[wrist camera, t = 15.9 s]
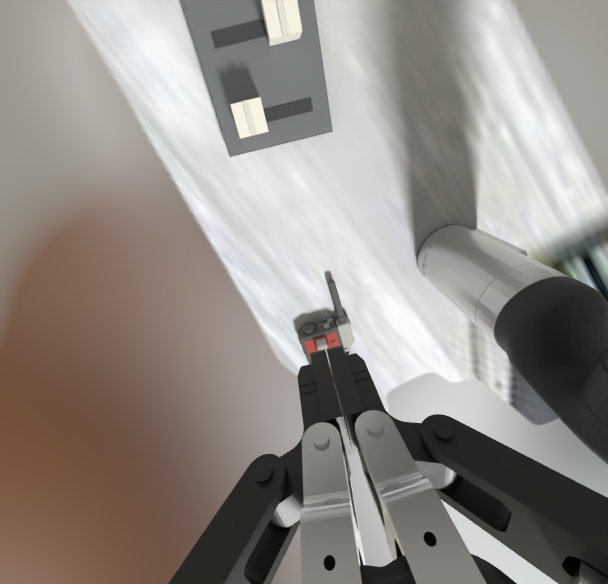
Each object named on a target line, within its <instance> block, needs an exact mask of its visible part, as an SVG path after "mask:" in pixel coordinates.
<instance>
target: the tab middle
mask: <svg viewBox="0 0 608 584" xmlns="http://www.w3.org/2000/svg"><path fill="white" fill-rule="evenodd" d="M261 8H262V12H263V17H264V22H265V27H266V31H267V36H268V41H269V45H270V46H273V45H277V44H281V43H285V42H289V41H293V40H297V39H300V36H301V33H302V26H301V20H300V14H299V8H298V2H297V0H261Z"/></svg>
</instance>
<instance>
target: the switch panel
mask: <svg viewBox="0 0 608 584" xmlns="http://www.w3.org/2000/svg"><path fill="white" fill-rule="evenodd" d="M181 2H182V6H183V9H184V12H185V15H186V18H187V22H188V25H189V28H190V31H191V34H192V38H193V41H194V44H195V47H196V50H197V54H198V57H199V60H200V63H201V66H202V70H203V73H204V76H205V79H206V82H207V85H208V89H209V92H210V95H211V98H212V101H213V105H214V108H215V111H216V114H217V117H218V121H219V124H220V127H221V130H222V133H223V137H224V140H225V143H226V146H227V149H228V153H229V156H230V157H232V156H236V155H240V154H244V153H248V152H252V151H256V150H260V149H264V148H268V147H272V146H276V145H280V144H284V143H288V142H292V141H297V140H301V139H305V138H309V137H313V136H317V135H321V134H325V133H329V132H333V131H332V124H331V117H330V110H329V103H328V96H327V89H326V82H325V75H324V68H323V61H322V54H321V47H320V40H319V33H318V26H317V19H316V12H315V5H314V0H297V2H298V8H299V14H300V20H301V26H302V33H301V36H300V39H297V40H293V41H289V42H285V43H281V44H277V45H273V46H270V45H269V41H268V36H267V31H266V27H265V22H264V17H263V12H262V8H261V0H181ZM258 97H260V98H261V102H262V106H263V110H264V114H265V118H266V123H267V127H268V131H269V132H266V133H262V134H257V135H253V136H249V137H245V138H241V139H240V137H239V133H238V130H237V126H236V123H235V119H234V116H233V112H232V109H231V105H230V104H234V103H238V102H242V101H245V100H250V99H254V98H258Z"/></svg>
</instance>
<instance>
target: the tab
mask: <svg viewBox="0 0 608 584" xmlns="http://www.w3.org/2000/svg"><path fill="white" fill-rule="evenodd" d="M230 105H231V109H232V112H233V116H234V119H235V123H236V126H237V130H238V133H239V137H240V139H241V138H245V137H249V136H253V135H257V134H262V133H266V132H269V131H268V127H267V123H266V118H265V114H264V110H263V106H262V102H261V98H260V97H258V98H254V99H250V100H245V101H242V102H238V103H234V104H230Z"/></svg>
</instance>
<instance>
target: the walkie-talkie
mask: <svg viewBox="0 0 608 584" xmlns="http://www.w3.org/2000/svg"><path fill="white" fill-rule="evenodd" d="M328 285H329V288H330V292H331V295H332V298H333V302H334V305H335V308H336V312H337V318H338V319H337V320H334V319H332V318H331V317H329V318H327V321H324V322H321V323H317V324H312V323H308V324H306V325H304V326H303V328H302V329H299V331H298V332H299V341H300V344H301V345H302V348H303V351H304V353H305V355H306V357H307V359H308V362H309V364H312V362H311V357H310V352H314V351H318V350H322V349H325V351H326V354H327V350H326V348H330V347H334V346H339V345H342V347H343V350H344V352H346V353H345V355H346V356H347V355H348V354H349V351H350V348H351V346H352V344H353V342H354V338H353V334H352V330H351V323H350V321H349V318H348V316H346V317H345V314H344V313H343V309H342V306H341V302H340V299H339V295H338V292H337V288H336V285H335V281H334V280H329V281H328ZM327 358H328V354H327ZM328 362H329V358H328ZM329 366H330V363H329ZM330 369H331V367H330ZM331 373H332V372H331ZM332 377H333V376H332ZM333 381H334V380H333Z"/></svg>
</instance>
